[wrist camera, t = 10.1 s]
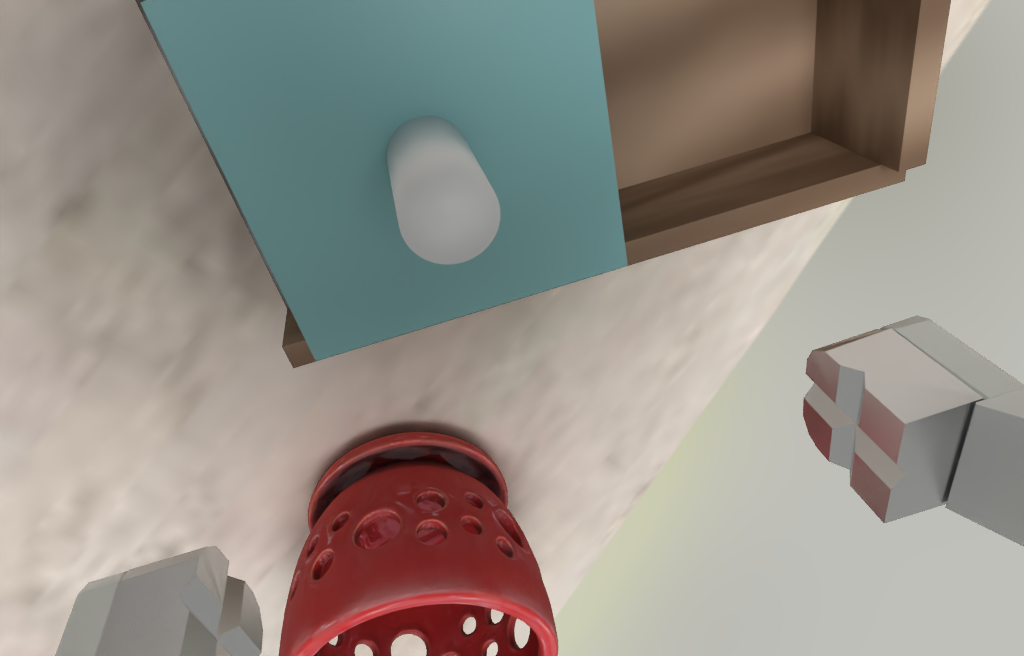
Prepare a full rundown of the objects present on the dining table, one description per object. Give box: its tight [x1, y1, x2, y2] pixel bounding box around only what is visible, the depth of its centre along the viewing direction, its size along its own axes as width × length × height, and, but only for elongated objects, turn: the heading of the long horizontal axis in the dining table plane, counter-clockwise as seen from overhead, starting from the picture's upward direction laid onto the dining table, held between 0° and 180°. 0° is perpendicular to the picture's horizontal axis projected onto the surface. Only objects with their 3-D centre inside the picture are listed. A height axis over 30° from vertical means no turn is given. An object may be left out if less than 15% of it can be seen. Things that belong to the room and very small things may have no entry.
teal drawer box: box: [141, 0, 628, 361], centre depth 21 cm, size 12×12×12 cm
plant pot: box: [279, 432, 558, 656], centre depth 35 cm, size 13×13×12 cm
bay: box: [136, 0, 951, 368], centre depth 25 cm, size 15×27×7 cm, turn 102°
